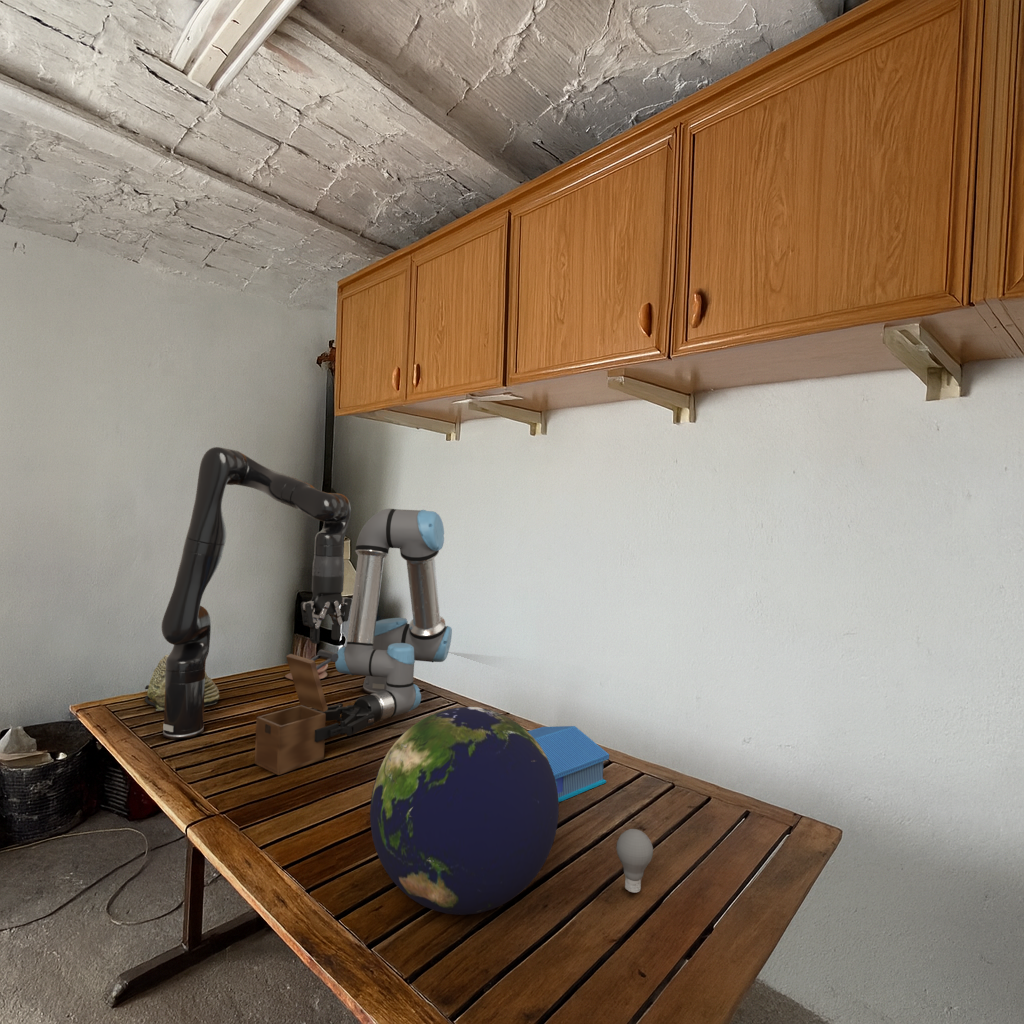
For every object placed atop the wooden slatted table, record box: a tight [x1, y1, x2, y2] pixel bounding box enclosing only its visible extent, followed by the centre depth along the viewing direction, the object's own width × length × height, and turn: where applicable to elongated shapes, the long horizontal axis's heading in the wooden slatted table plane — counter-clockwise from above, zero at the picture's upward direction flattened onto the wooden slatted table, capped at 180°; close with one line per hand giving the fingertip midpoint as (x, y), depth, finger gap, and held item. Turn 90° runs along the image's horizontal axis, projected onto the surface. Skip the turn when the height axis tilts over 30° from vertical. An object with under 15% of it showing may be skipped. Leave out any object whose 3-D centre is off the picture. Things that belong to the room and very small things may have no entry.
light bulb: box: [615, 828, 654, 894], centre depth 106 cm, size 6×6×10 cm
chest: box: [254, 704, 327, 776], centre depth 151 cm, size 12×10×11 cm
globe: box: [369, 706, 560, 916], centre depth 102 cm, size 30×30×30 cm
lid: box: [285, 649, 339, 712], centre depth 157 cm, size 13×10×9 cm
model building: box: [526, 725, 610, 803], centre depth 140 cm, size 39×24×10 cm, turn 132°
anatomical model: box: [284, 663, 329, 681], centre depth 220 cm, size 13×4×12 cm
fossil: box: [146, 654, 221, 712], centre depth 185 cm, size 9×18×15 cm, turn 132°
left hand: (325, 640), depth 157 cm, fingers open, 5 cm apart
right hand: (302, 730), depth 153 cm, fingers closed on chest, 9 cm apart
